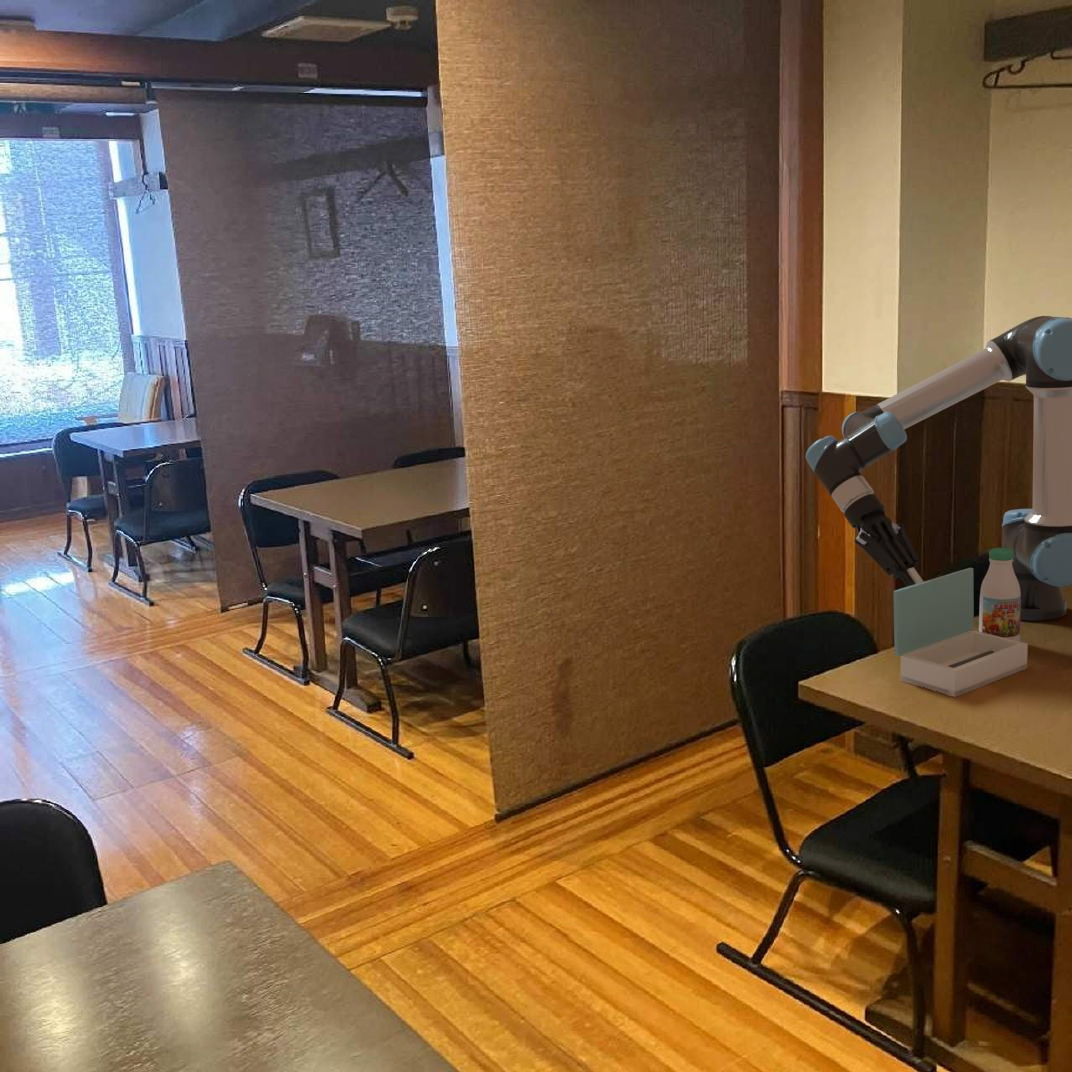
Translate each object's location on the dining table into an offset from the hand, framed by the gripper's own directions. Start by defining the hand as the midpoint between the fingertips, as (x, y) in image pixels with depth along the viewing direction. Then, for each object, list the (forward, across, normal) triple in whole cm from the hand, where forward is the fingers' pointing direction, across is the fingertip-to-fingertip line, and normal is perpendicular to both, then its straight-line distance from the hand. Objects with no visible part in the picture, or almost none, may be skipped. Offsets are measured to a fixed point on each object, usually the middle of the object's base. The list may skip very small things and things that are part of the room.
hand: (925, 598), depth 223 cm
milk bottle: (+12, -20, -8) cm, 24 cm away
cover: (+3, 0, 0) cm, 3 cm away
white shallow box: (+16, -1, -3) cm, 16 cm away
